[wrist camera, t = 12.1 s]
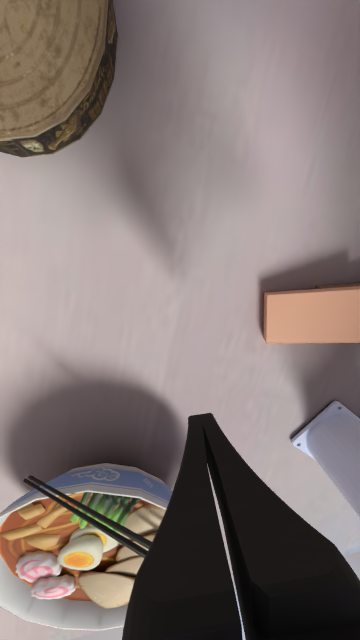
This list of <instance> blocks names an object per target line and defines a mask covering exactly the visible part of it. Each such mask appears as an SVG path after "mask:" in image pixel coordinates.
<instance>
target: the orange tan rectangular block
mask: <svg viewBox="0 0 360 640" xmlns="http://www.w3.org/2000/svg"><path fill="white" fill-rule="evenodd" d="M263 338H264V340H265V342H266V343H360V286H353V287H338V288H323V289H308V290H293V291H278V292H264V335H263Z"/></svg>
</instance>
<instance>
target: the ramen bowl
mask: <svg viewBox="0 0 360 640" xmlns="http://www.w3.org/2000/svg"><path fill="white" fill-rule="evenodd" d="M28 478H29V479H31V480H33V481H34V482H36V483H38V484H40V486H37V485H35V484H34V483H32V482H30V481H29V480H27V479H24V482H25V483H27V484H28V485H30V486H32V487H33V488H34V489H33V490H31V491H30V492H28V493H27V494H25V495H24V496H22V497H21V498H19V499H18V500H16V501H15V502H13V503H12V504H11V505H10V506H8V507H7V508H6V509H5V510H4V511H2V512H1V513H0V607H1V608H3V609H5V610H7V611H8V612H10V613H12V614H14V615H15V616H17V617H19V618H20V619H22V620H26V621H30V622H34V623H38V624H42V625H46V626H50V627H54V628H58V629H71V630H98V631H101V630H107V629H112V628H117V627H124V623H125V618H126V612H127V607H128V603H129V599H130V595H131V591H132V588H133V584H134V581H135V577H136V574H137V572H138V570H139V568H140V566H141V564H142V562H143V560H144V558H145V556H146V554H147V552H148V550H149V548H150V546H151V544H152V541H153V539H154V537H155V535H156V532H157V530H158V528H159V526H160V523H161V521H162V519H163V516H164V514H165V511H166V509H167V506H168V504H169V501H170V498H171V495H172V493H173V492H172V491H171V490H170V489H169V488H168V487H167V485H166V484H165V483H164V482H163V481H162V480H161V479H159V478H157V477H155V476H153V475H151V474H149V473H147V472H145V471H142V470H140V469H138V468H136V467H130V466H124V465H117V464H110V463H103V464H96V465H90V466H84V467H78V468H74V469H72V470H70V471H68V472H66V473H64V474H62V475H60V476H58V477H56V478H54V479H52V480H50V481H48V482H46V483H44V482H42V481H40V480H38V479H36V478H35V477H33V476H31V475H30V476H29V477H28Z"/></svg>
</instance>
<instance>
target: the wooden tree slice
mask: <svg viewBox="0 0 360 640" xmlns="http://www.w3.org/2000/svg"><path fill="white" fill-rule="evenodd" d="M117 37H118V35H117V28H116V21H115V15H114V8H113V1H112V0H0V152H3V153H7V154H11V155H15V156H19V157H29V156H39V155H48V154H54V153H56V152H58V151H60V150H61V149H63V148H65V147H67V146H69V145H71V144H72V143H74V142H76V141H78V140H80V139H81V138H82V136H83V135H84V134H85V133H86V131H87V130H88V129H89V128H90V127H91V125H92V124H93V123H94V122H95V121H96V119H97V118H98V117H99V116H100V114H101V112H102V109H103V107H104V104H105V101H106V99H107V96H108V93H109V91H110V88H111V85H112V83H113V80H114V72H115V60H116V48H117Z"/></svg>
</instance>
